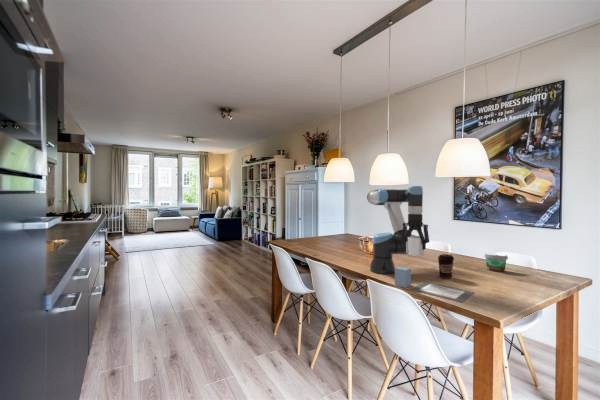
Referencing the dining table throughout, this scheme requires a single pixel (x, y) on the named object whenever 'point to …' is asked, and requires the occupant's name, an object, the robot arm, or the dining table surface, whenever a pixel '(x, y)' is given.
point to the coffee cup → (445, 265)
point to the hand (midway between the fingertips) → (414, 254)
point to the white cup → (414, 245)
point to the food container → (496, 262)
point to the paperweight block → (402, 276)
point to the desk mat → (458, 299)
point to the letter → (442, 291)
